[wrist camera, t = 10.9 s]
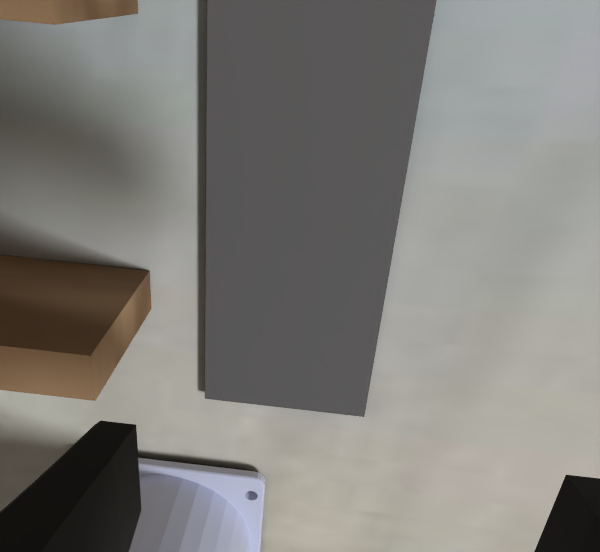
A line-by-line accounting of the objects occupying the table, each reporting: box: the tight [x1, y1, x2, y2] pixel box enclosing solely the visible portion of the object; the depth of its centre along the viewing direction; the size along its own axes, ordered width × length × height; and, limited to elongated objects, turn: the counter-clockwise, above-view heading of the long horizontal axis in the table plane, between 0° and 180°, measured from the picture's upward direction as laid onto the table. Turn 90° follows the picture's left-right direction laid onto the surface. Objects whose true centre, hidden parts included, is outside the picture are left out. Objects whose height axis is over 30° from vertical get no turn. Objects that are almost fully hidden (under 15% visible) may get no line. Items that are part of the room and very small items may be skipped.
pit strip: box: [205, 0, 436, 417], centre depth 17 cm, size 18×6×1 cm, turn 175°
